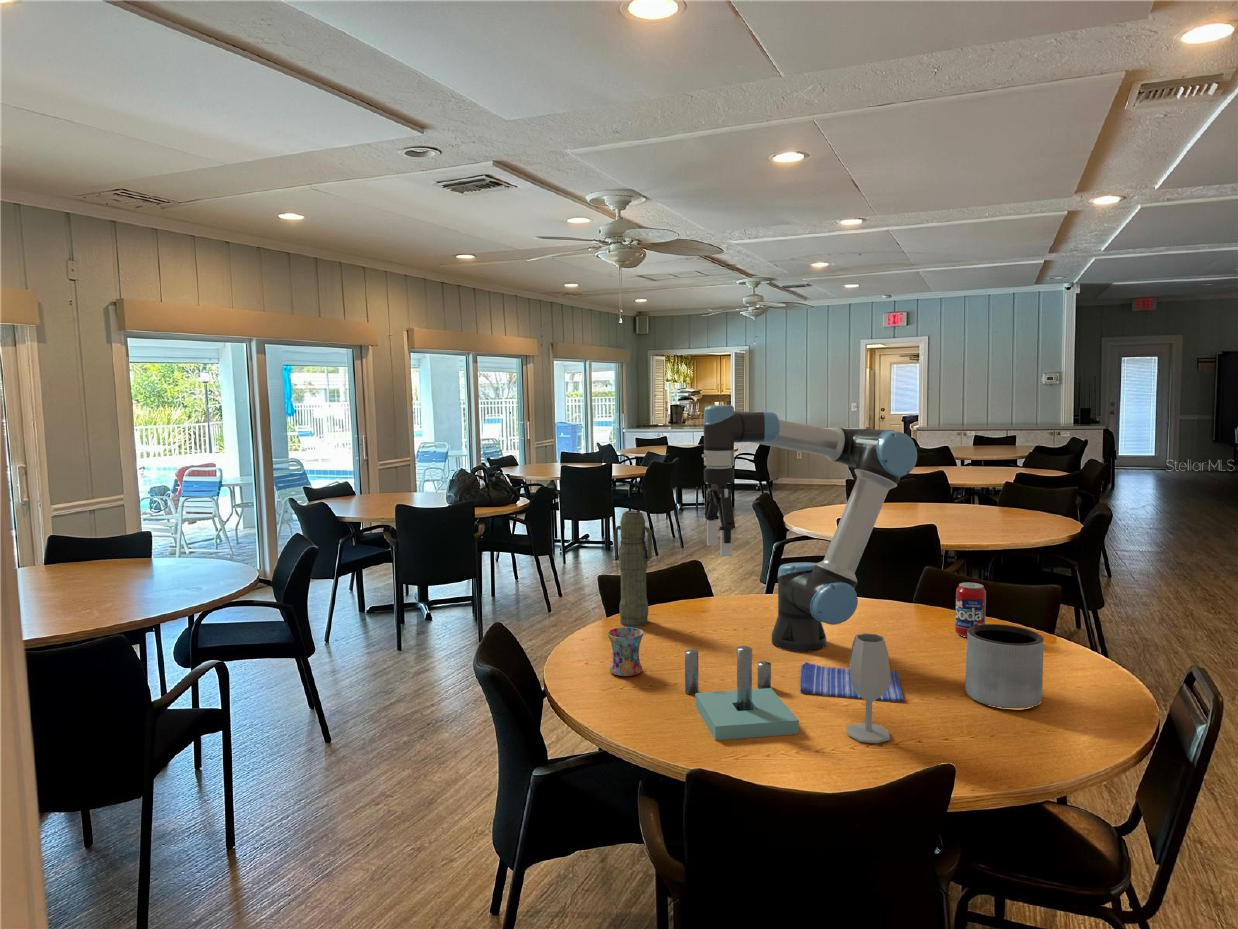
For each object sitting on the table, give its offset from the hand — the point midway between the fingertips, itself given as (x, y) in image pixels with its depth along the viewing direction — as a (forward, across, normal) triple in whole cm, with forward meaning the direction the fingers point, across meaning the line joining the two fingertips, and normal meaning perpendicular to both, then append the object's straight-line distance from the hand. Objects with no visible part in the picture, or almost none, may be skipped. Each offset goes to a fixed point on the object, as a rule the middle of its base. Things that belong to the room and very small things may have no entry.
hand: (719, 550), depth 198 cm
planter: (+32, +28, +60) cm, 74 cm away
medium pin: (+32, +12, -10) cm, 35 cm away
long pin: (+32, +29, -2) cm, 43 cm away
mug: (+32, -5, -23) cm, 40 cm away
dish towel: (+32, +14, +29) cm, 46 cm away
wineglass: (+32, +41, +21) cm, 56 cm away
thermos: (+32, -46, -15) cm, 58 cm away
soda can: (+32, -16, +79) cm, 87 cm away
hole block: (+32, +29, -2) cm, 43 cm away
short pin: (+32, +12, +8) cm, 35 cm away
